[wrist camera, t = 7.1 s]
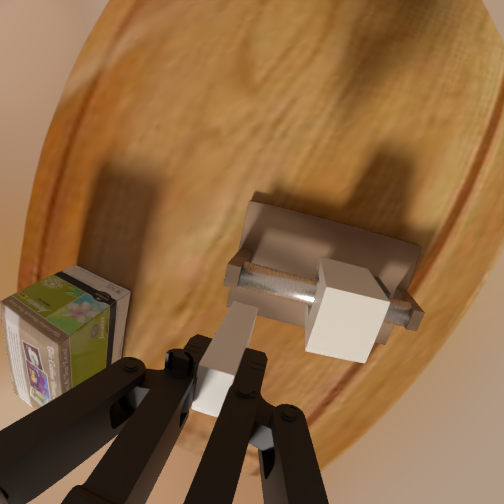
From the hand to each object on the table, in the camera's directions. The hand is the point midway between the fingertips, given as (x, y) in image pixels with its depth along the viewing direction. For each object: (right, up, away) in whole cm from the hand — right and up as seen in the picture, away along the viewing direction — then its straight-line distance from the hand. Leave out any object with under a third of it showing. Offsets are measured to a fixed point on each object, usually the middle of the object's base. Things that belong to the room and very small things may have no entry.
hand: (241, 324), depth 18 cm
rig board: (+8, +2, +15) cm, 17 cm away
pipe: (+8, +1, +11) cm, 13 cm away
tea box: (-21, -6, +22) cm, 31 cm away
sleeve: (+9, +1, +12) cm, 15 cm away
